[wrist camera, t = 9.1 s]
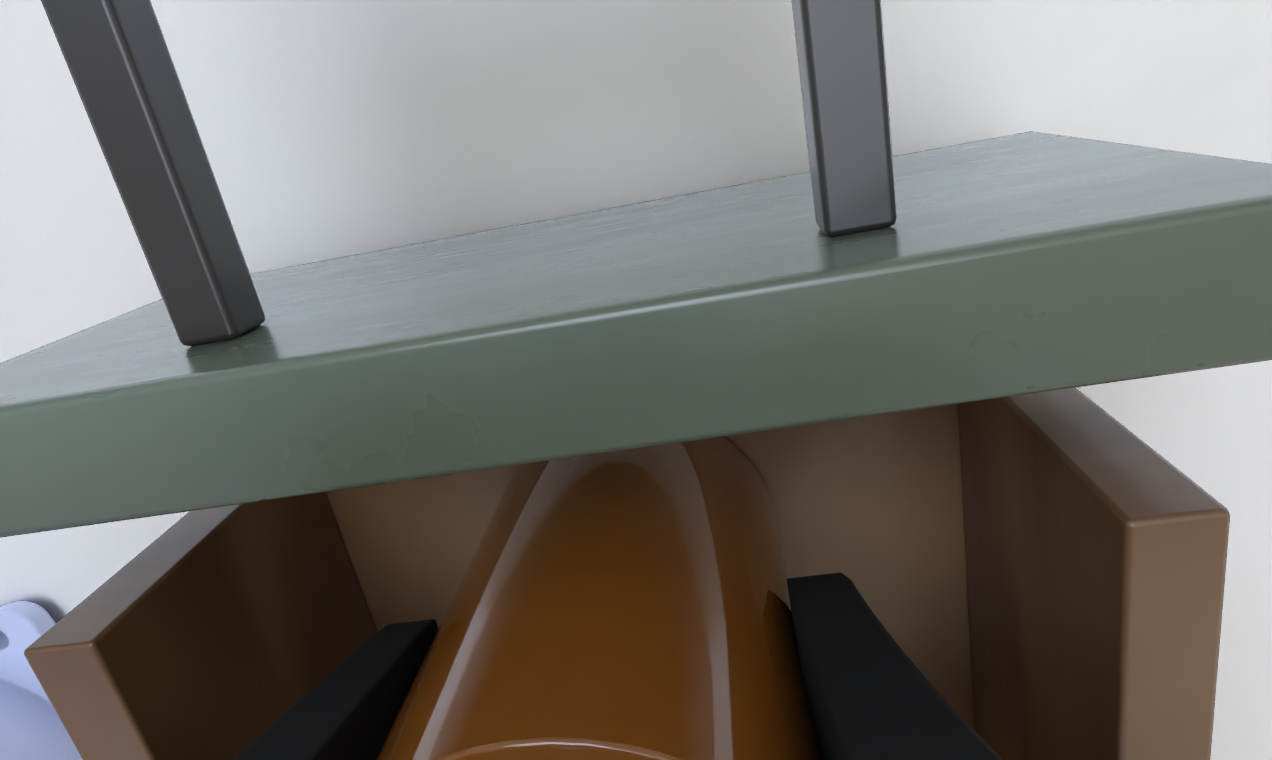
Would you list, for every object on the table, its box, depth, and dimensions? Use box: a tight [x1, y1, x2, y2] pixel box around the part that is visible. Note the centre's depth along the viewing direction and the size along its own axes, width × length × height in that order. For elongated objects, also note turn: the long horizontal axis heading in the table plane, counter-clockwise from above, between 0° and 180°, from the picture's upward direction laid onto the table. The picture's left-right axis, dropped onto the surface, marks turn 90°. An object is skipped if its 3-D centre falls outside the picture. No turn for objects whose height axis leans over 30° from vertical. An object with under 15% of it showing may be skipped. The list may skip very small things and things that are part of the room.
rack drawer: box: [0, 0, 1272, 760], centre depth 10 cm, size 17×12×6 cm
